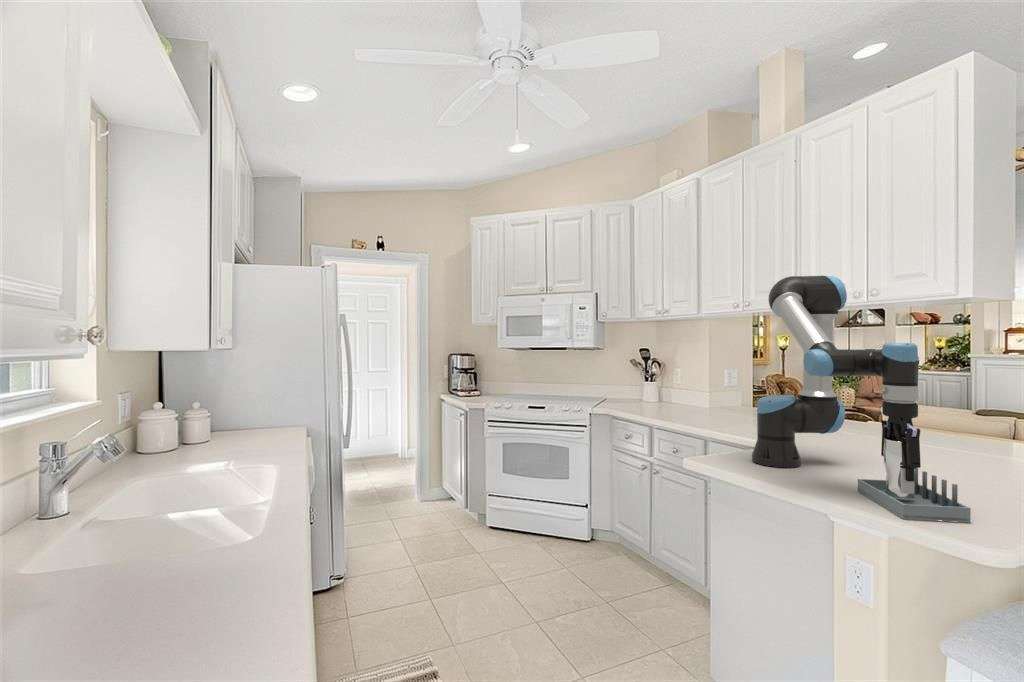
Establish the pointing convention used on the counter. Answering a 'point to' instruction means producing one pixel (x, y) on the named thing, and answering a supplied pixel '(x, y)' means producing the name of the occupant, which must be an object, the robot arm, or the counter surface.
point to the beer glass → (894, 469)
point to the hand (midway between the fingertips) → (899, 489)
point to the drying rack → (918, 500)
